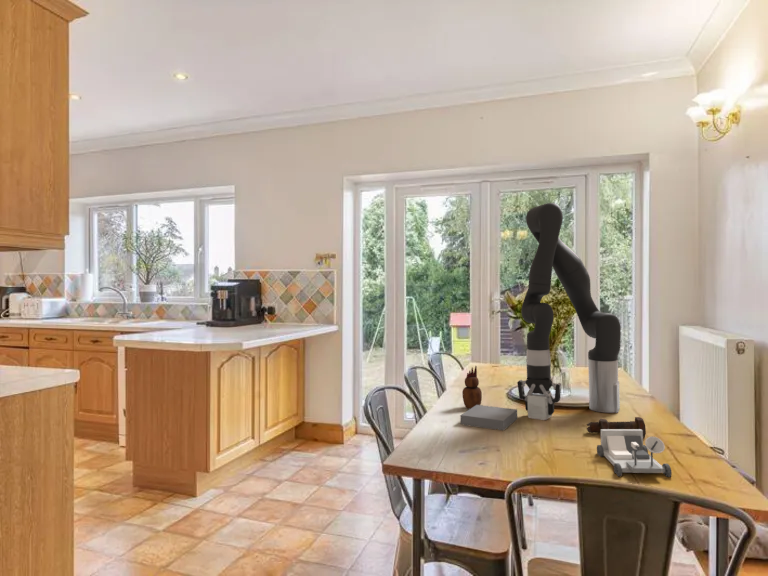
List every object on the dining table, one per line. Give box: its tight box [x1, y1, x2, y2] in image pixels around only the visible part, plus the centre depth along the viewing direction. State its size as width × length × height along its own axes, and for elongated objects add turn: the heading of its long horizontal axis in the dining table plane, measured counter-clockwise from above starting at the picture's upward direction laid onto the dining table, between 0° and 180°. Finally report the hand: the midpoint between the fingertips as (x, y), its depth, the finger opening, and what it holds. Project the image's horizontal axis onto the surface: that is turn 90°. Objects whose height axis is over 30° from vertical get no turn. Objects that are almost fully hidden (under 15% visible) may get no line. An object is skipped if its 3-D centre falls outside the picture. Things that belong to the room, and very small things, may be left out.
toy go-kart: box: [596, 429, 673, 478], centre depth 117 cm, size 18×10×12 cm
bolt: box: [586, 416, 647, 438], centre depth 141 cm, size 6×5×15 cm
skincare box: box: [526, 393, 553, 421], centre depth 161 cm, size 6×6×7 cm
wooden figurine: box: [461, 365, 483, 410], centre depth 174 cm, size 7×6×15 cm
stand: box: [459, 404, 518, 431], centre depth 157 cm, size 14×14×3 cm
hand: (539, 413), depth 161 cm, fingers closed on skincare box, 6 cm apart
